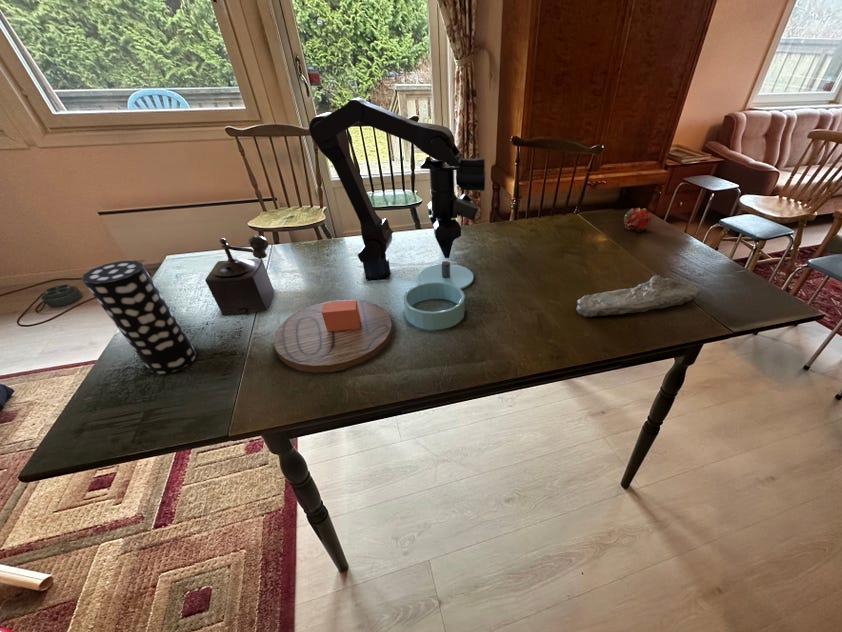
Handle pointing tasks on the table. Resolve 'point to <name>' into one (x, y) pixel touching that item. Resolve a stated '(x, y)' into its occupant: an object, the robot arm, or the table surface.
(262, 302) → the manual coffee grinder
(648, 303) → the long grey stone
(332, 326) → the orange rectangular block
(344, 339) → the trivet
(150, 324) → the spotted tube
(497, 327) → the table surface
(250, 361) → the table surface
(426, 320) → the pot
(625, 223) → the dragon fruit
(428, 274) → the lid
